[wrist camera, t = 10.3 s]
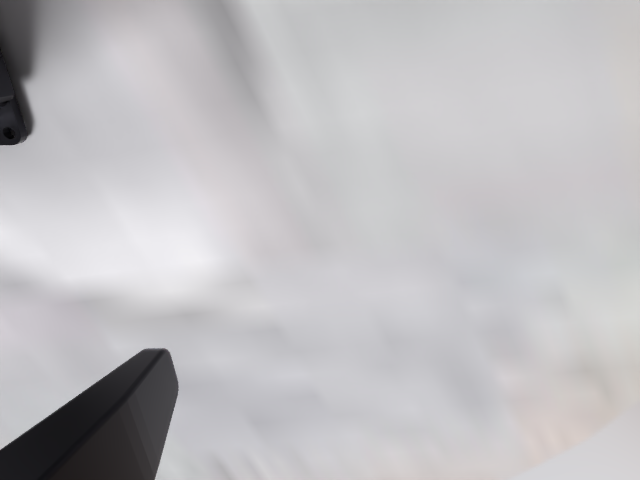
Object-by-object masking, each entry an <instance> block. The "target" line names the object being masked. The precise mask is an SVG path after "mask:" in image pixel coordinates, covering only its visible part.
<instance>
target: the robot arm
mask: <svg viewBox="0 0 640 480" xmlns="http://www.w3.org/2000/svg"><path fill="white" fill-rule="evenodd" d="M9 128H11V129H12V130H13V131H14V132H15V137H14V136H13V135H12V134H11V133H10V129H9ZM26 138H27V130H26V127H25V124H24V121H23V118H22V115H21V112H20V109H19V106H18V103H17V100H16V97H15V93H14V89H13V86H12V83H11V80H10V77H9V74H8V71H7V68H6V65H5V62H4V59H3V56H2V53H1V50H0V145H15V144H19V143H22V142H24V141H25V140H26ZM177 395H178V380H177V376H176V372H175V369H174V365H173V361H172V358H171V355H170V352H169V351H168V350H167V349H165V348H148V349H144V350H142V351H140V352H139V353H138V354H136V355H135V356H133V357H132V358H130V359H129V360H128V361H126V362H125V363H123V364H122V365H121V366H119V367H118V368H116V369H115V370H113V371H112V372H111V373H109V374H108V375H106V376H105V377H103V378H102V379H101V380H99V381H98V382H96V383H95V384H93V385H92V386H91V387H89V388H88V389H86V390H85V391H83V392H82V393H81V394H79V395H78V396H76V397H75V398H73V399H72V400H71V401H69V402H68V403H66V404H65V405H64V406H62V407H61V408H59V409H58V410H56V411H55V412H54V413H52V414H51V415H49V416H48V417H46V418H45V419H44V420H42V421H41V422H39V423H38V424H36V425H35V426H34V427H32V428H31V429H29V430H28V431H26V432H25V433H24V434H22V435H21V436H19V437H18V438H17V439H15V440H14V441H12V442H11V443H9V444H8V445H7V446H5V447H4V448H2V449H1V450H0V480H155V477H156V473H157V470H158V466H159V463H160V459H161V455H162V452H163V448H164V444H165V441H166V437H167V433H168V429H169V426H170V422H171V418H172V414H173V411H174V407H175V403H176V399H177Z"/></svg>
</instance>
